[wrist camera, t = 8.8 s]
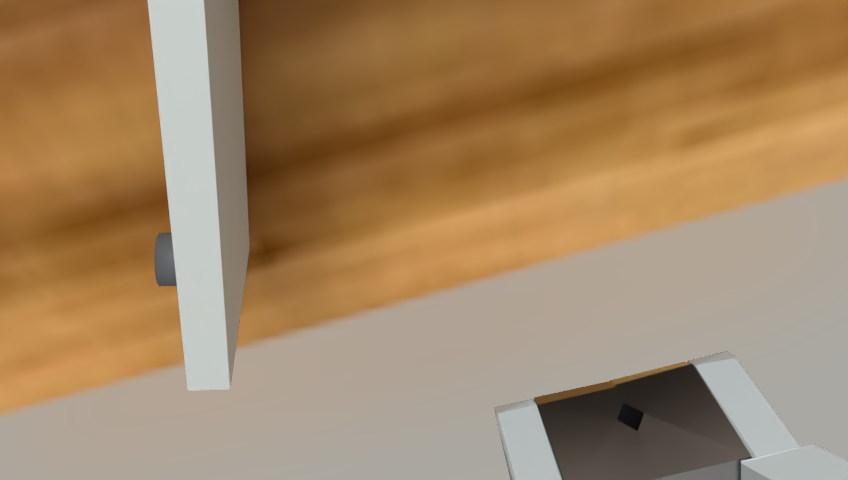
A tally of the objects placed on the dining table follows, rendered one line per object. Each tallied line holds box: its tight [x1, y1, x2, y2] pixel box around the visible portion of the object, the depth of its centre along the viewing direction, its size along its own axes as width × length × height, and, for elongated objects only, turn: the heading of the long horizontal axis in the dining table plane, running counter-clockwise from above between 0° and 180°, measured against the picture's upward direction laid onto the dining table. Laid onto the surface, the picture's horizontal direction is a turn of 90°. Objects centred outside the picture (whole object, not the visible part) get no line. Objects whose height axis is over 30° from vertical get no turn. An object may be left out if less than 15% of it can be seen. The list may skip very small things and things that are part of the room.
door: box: [148, 0, 250, 391], centre depth 18 cm, size 15×2×7 cm, turn 176°
